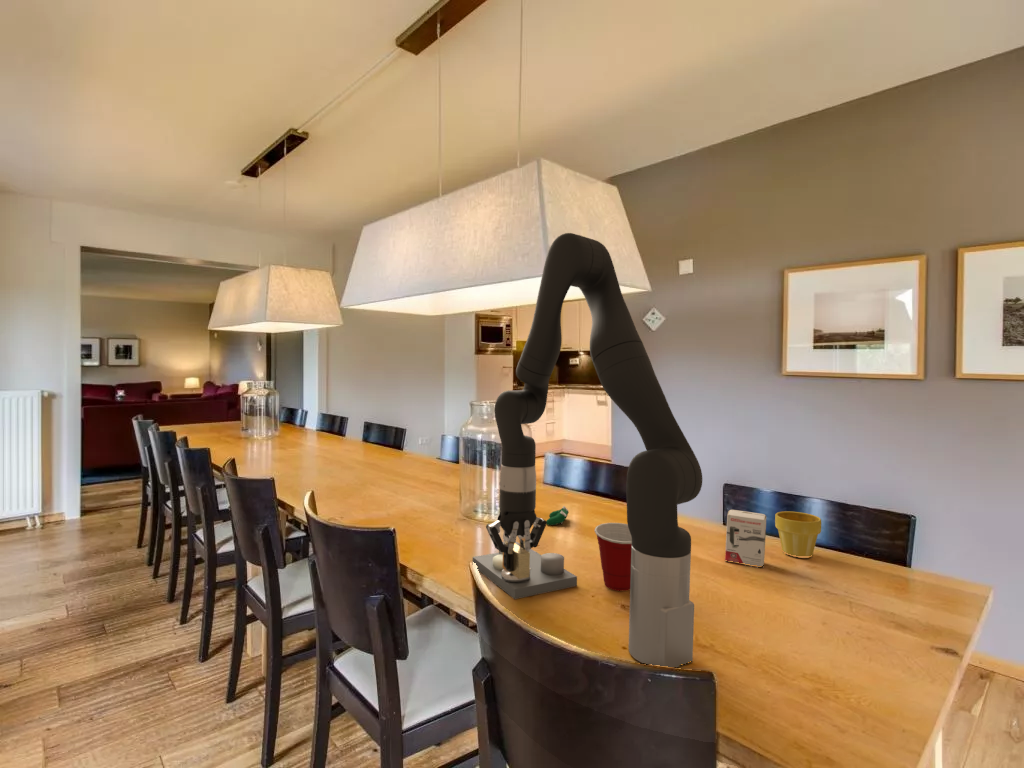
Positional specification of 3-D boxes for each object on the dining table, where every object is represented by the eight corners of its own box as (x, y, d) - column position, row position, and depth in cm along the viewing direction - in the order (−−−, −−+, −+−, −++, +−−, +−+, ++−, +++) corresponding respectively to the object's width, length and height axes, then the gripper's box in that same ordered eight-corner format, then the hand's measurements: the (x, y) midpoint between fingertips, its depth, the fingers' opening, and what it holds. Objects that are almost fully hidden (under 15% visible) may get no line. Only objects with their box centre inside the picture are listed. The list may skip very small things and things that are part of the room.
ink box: (724, 562, 130) (725, 513, 130) (726, 556, 134) (728, 509, 134) (763, 569, 126) (765, 519, 126) (764, 562, 130) (766, 514, 130)
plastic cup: (606, 599, 108) (608, 539, 107) (584, 578, 118) (586, 524, 118) (655, 594, 111) (656, 536, 110) (629, 574, 121) (631, 521, 121)
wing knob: (536, 580, 111) (537, 551, 111) (511, 585, 108) (511, 555, 108) (519, 568, 117) (520, 540, 117) (495, 573, 114) (495, 544, 114)
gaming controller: (553, 532, 157) (568, 519, 156) (544, 522, 157) (559, 509, 156) (557, 524, 166) (571, 511, 165) (548, 514, 166) (562, 501, 165)
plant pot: (764, 549, 140) (766, 511, 140) (797, 546, 143) (798, 509, 143) (795, 563, 130) (797, 523, 130) (830, 560, 133) (831, 520, 133)
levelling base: (576, 585, 114) (577, 562, 114) (514, 599, 107) (515, 574, 107) (528, 555, 132) (529, 535, 131) (472, 565, 124) (472, 543, 124)
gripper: (495, 493, 105) (493, 581, 106) (556, 487, 112) (554, 570, 112) (479, 485, 112) (478, 568, 113) (537, 480, 118) (536, 558, 119)
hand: (516, 568), depth 112 cm, fingers closed on wing knob, 2 cm apart
